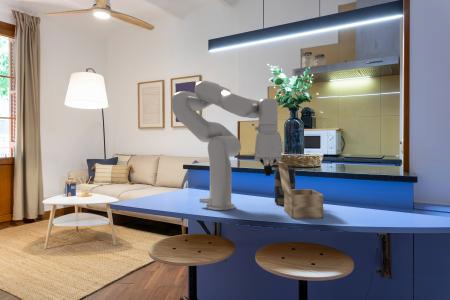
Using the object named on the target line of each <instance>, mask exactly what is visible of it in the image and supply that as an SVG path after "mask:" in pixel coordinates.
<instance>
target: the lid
mask: <svg viewBox="0 0 450 300" xmlns="http://www.w3.org/2000/svg"><path fill="white" fill-rule="evenodd" d="M277 164H278V167H277V168H279V172H280V178H281V184H282V190H284V191H285V192H287V193H288V194H289V195H292V191H291V185H290V179H289V173H288V167H289V166H288V164H287V163H285V162H283V161H277ZM287 166H288V167H287Z"/></svg>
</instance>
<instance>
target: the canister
mask: <svg viewBox="0 0 450 300" xmlns="http://www.w3.org/2000/svg"><path fill="white" fill-rule="evenodd" d="M287 167H288V173H289V179H290V185H291V189H296V169H295V168H293V167H290V166H288V165H287ZM274 204H276V205H279V206H284V190H282V184H281V178H280V172H279V167H276V168H275V169H274Z"/></svg>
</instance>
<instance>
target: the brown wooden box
mask: <svg viewBox="0 0 450 300" xmlns="http://www.w3.org/2000/svg"><path fill="white" fill-rule="evenodd" d="M291 191H292V195H289V194H288V193H287V192H285V191H284V205H283V211H284V212H285V213H286V214H287V215H288V216H289V218H290V219H324V194H323V193H320V192H318V191H316V190H314V189H307V188H306V189H305V188H304V189H303V188H302V189H300V188H299V189H297V188H295V189H291Z"/></svg>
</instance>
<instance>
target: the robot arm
mask: <svg viewBox="0 0 450 300" xmlns="http://www.w3.org/2000/svg"><path fill="white" fill-rule="evenodd" d="M194 86H195V87H194V92H192V91H187V90H186V91H184V90H183V91H178V92H176V93H174V94H173V95H172V98H171V110H172V113H173V115H174V117H175V118H176V119H177V120H178V121H179V122H180V123H181V124H183V126H185V127H186V128H187V129H188V131H189V132H191V133H192V134H193V136H195V138H197V139H198V140H199V141H200V142H202V143H207V153H208V154H207V155H208V160H209V161H208V162H209V196H208V197H206V198H201V197H200V198H199V203H200V204H205V205H206V207H205V208H206V209H208V210H212V211H228V210H233V209H235V204H234V203H232V163H231V159H230V158H231V157H236V156H238V155H239V154H240V153H241V150H242V144H241V141H240V140H239V138H238V137H237V136H236V135H235V134H234V133H232V132H231V131H230V130H229V129H228V128H227V127H226V126H225V125H223V124H222V123H219V122H215V121H214V122H213V121H209V120H207V119H206V118H204V117H203V116H202V115H201V114H200V113H198V112H199V111H202V110H204V109H206V108H208V107H210V106H211V105H214V106H217V107H220V108H221V109H223V110H224V111H226V112H228V113H231V114H233V115H236V116H238V117H242V118H247V119H248V118H249V119H258V126H255V127H254V130H255V131H257V133H256V136H255V137H256V138H255V146H254V147H255V148H254V161H255V162H258V163H259V162H260V163H261V164H262V165H263V173H264V176H265V177H271V175H272V174H273V165H274V164H275V163H278V162H279V161H280V162H282V140H281V134H280V132H278V126H279V125H278V124H279V123H278V111H279V110H278V109H279V108H278V106H279V105H278V103H279V102H278V100H277V99H275V98H269V97H267V98H261V99H260V100H256V99H250V98H246V97H243V96H241V95H239V94H235V93H233V92H231V90H230V89H229V88H227V87H225V86H221V85H220V84H219V83H216V82H212V81H209V80H201V81H199V82H197V83H196V85H194ZM267 159H269V161H268V163H267Z"/></svg>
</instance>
